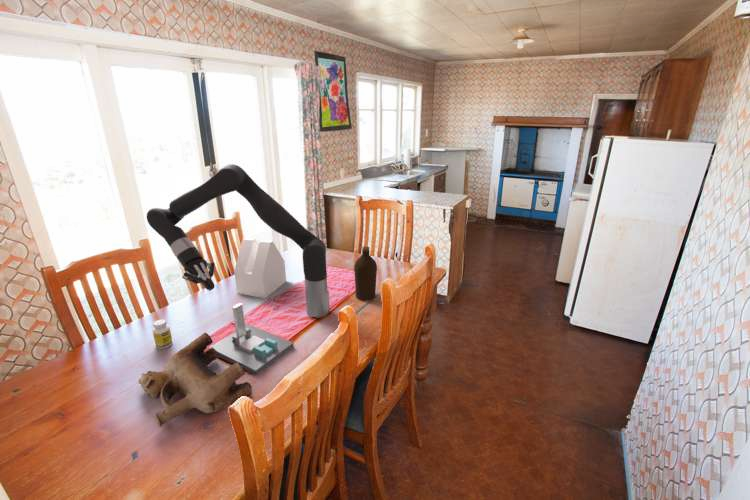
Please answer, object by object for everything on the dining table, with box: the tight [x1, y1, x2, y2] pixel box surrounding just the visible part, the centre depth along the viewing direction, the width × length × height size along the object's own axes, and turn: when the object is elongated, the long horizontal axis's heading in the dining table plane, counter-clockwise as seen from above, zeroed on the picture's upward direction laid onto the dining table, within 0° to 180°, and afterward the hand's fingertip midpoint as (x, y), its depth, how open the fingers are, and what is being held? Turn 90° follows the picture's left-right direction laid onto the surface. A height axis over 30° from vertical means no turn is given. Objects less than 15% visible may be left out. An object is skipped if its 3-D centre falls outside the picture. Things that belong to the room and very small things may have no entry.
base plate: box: [208, 323, 294, 376], centre depth 130 cm, size 18×24×6 cm
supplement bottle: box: [152, 319, 173, 350], centre depth 131 cm, size 5×5×10 cm
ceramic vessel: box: [138, 332, 253, 427], centre depth 108 cm, size 13×31×25 cm
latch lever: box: [232, 303, 246, 339], centre depth 130 cm, size 3×1×13 cm, turn 150°
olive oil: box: [353, 246, 378, 301], centre depth 166 cm, size 11×11×25 cm
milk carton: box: [233, 237, 287, 299], centre depth 174 cm, size 19×15×25 cm
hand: (212, 289), depth 133 cm, fingers closed
